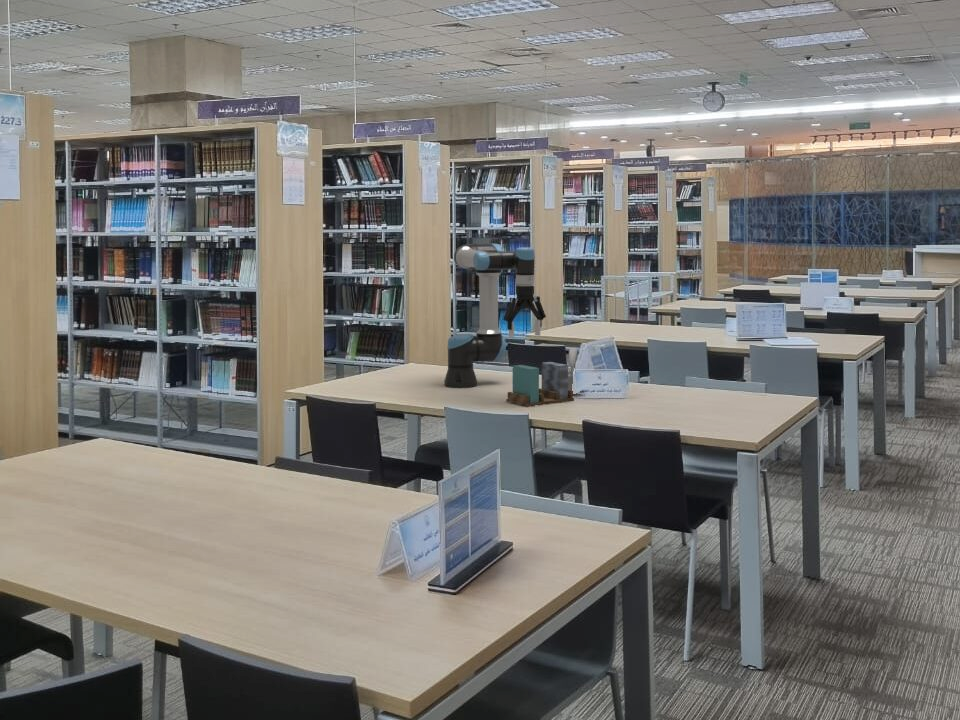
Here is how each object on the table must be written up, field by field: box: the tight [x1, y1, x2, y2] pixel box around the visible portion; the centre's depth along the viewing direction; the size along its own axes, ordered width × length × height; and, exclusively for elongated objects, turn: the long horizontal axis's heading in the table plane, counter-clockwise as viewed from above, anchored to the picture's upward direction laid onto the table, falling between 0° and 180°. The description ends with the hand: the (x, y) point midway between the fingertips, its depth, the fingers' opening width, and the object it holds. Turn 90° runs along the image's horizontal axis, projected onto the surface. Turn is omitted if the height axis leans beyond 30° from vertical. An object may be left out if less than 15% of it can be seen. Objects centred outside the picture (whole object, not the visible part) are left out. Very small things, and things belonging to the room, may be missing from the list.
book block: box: [512, 364, 540, 403], centre depth 405 cm, size 12×4×14 cm, turn 35°
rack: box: [505, 361, 575, 408], centre depth 409 cm, size 14×25×15 cm, turn 125°
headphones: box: [568, 347, 579, 390], centre depth 428 cm, size 19×9×20 cm, turn 171°
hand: (524, 336), depth 407 cm, fingers open, 13 cm apart
